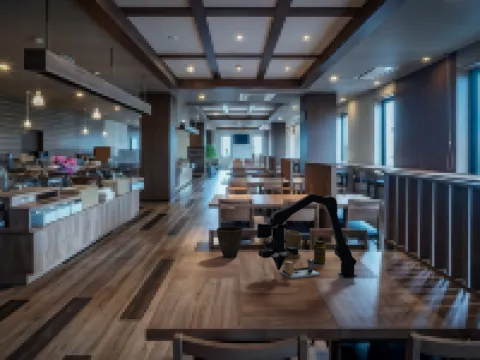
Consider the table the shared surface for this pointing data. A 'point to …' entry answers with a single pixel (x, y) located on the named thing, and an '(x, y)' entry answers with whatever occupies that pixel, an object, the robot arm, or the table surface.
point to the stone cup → (293, 241)
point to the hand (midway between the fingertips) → (278, 269)
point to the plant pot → (229, 240)
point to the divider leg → (289, 267)
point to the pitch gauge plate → (302, 271)
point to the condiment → (319, 253)
